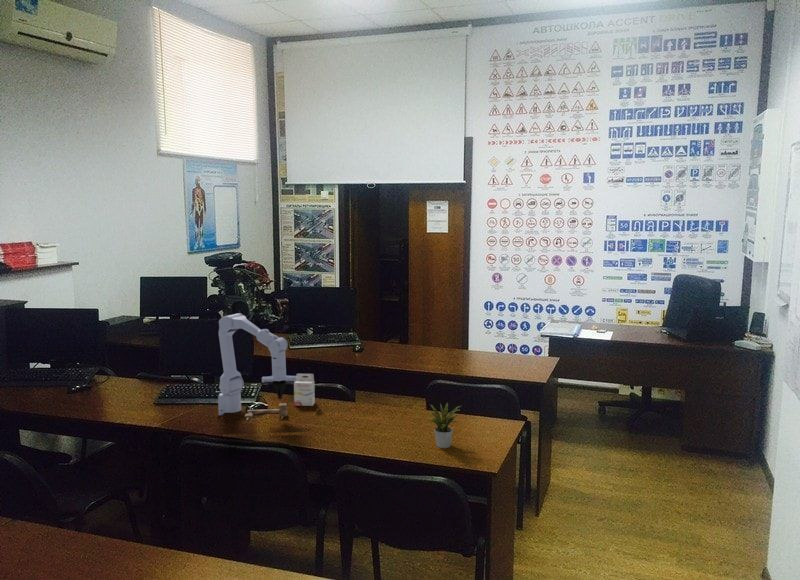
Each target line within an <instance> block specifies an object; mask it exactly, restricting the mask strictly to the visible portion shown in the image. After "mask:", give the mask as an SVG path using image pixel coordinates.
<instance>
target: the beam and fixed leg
mask: <svg viewBox="0 0 800 580" xmlns="http://www.w3.org/2000/svg"><path fill="white" fill-rule="evenodd" d="M246 412H247V413H245V415H244V419H245V421H248V420H249V419H252V418H253V416H254V415H257V414H279V408H272V409H271V408H270V409H269V408H267V409H265V408H264V409H247V411H246Z"/></svg>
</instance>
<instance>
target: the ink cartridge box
mask: <svg viewBox="0 0 800 580" xmlns="http://www.w3.org/2000/svg"><path fill="white" fill-rule="evenodd" d="M296 376H297V381H296V382H294V381H293V398H294V402H293V403H294V406H296V407H297V406H300V407H302V406H304V407H305V406H306V407H307V406H311V407H312V406H314V405H315V403H316V397H315V396H316V395H315V389H316V388H315V376H314V373H296Z"/></svg>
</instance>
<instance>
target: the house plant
mask: <svg viewBox="0 0 800 580" xmlns="http://www.w3.org/2000/svg"><path fill="white" fill-rule="evenodd" d="M439 405H440V411H441V414H440V412H439V411H438V410H437V408H435V407H434V405H433V404H430V406H431V408H432V410H433V411H431V410H430V409H429V410H428V412H430V413H431V414H432V416H434V418H431V419H429V420H428V421H427V422H426V423H434V424H436V427H435V428H434V429H433V432H434V437H435V444H436V445H435V446H436V447H438V448H440V449H447V448H450V447H451V444H452V438H453V432H454V429H453V428H452V427H451V426H453V425H454V423H458V424H460V422H461V421H459V420H456V418H455V417H457V416H458V414H454V413H455V412H457V411H459V408H461V405H459V406H455V408H454V409H452V410H451V411H449V403H448V402H446V403H445V406H444V408H443V406H442V404H441V403H439ZM448 411H449V412H448ZM433 412H434V413H433ZM447 415H448V416H447ZM451 423H452V424H451ZM450 424H451V426H449V425H450Z"/></svg>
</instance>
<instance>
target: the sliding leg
mask: <svg viewBox="0 0 800 580" xmlns="http://www.w3.org/2000/svg"><path fill="white" fill-rule="evenodd" d="M278 409H279V413H278V417H279V418H280V419H281V420H283V418H285V417H287V416H288V404H287V403H286V402H285V403H282V402H281V403H280V402H279V404H278Z"/></svg>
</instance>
